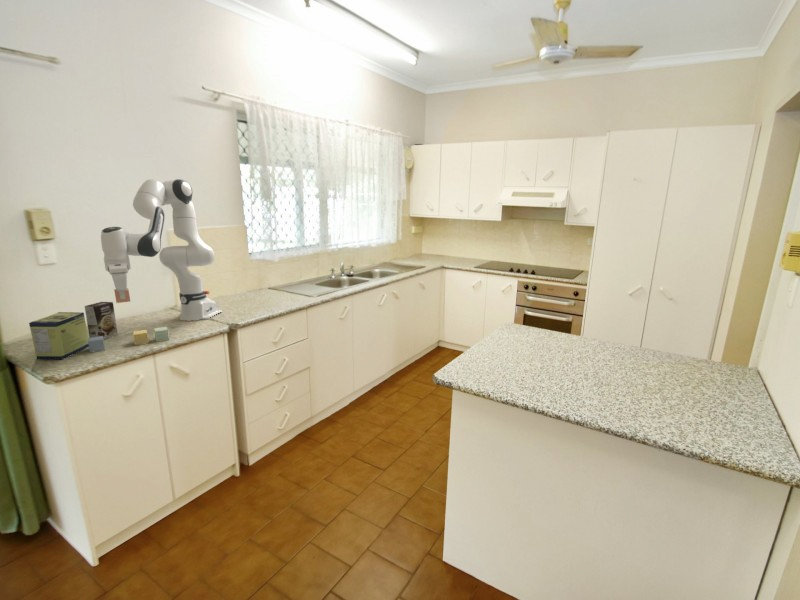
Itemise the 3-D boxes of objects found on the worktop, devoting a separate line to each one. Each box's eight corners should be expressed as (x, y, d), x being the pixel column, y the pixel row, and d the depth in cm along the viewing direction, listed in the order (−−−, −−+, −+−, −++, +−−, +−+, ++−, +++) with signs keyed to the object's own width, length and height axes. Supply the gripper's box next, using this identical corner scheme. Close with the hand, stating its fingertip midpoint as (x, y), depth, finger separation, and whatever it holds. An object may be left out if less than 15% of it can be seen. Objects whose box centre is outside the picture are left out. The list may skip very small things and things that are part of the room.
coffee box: (101, 341, 181) (95, 306, 177) (89, 340, 182) (83, 305, 178) (118, 334, 190) (113, 301, 186) (107, 333, 191) (101, 300, 187)
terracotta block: (129, 299, 179) (128, 288, 177) (130, 301, 175) (128, 290, 173) (116, 300, 176) (114, 289, 174) (116, 303, 172) (114, 291, 171)
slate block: (104, 346, 175) (102, 335, 174) (104, 350, 171) (102, 339, 170) (90, 349, 172) (88, 338, 171) (90, 352, 168) (87, 341, 167)
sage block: (167, 336, 189) (166, 326, 187) (169, 339, 185) (167, 329, 184) (155, 338, 186) (153, 328, 185) (156, 341, 182) (155, 331, 181)
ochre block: (147, 340, 184) (146, 329, 183) (148, 343, 180) (147, 332, 179) (134, 342, 181) (133, 331, 180) (135, 345, 177) (133, 334, 176)
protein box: (90, 346, 175) (84, 311, 172) (62, 360, 160) (55, 322, 156) (66, 345, 175) (59, 311, 171) (35, 359, 160) (27, 322, 156)
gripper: (108, 262, 178) (113, 293, 181) (109, 270, 162) (114, 303, 165) (125, 261, 181) (130, 291, 185) (127, 268, 165) (132, 301, 169)
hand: (122, 297), depth 175 cm, fingers closed on terracotta block, 5 cm apart
